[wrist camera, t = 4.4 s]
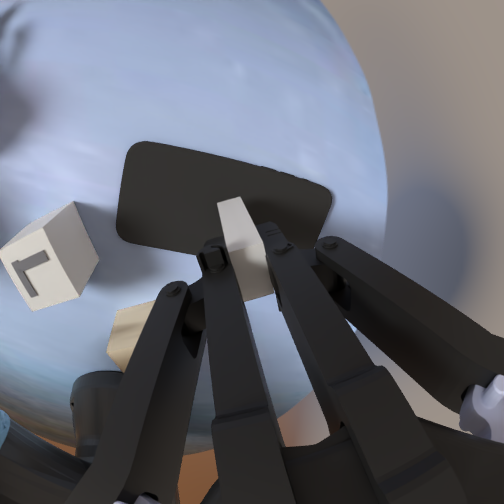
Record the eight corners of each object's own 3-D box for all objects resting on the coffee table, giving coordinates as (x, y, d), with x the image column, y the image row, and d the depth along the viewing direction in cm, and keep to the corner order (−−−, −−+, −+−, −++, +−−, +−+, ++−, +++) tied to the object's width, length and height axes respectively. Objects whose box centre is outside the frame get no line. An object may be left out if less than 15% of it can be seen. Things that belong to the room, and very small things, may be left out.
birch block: (189, 336, 24) (191, 380, 20) (142, 347, 24) (137, 390, 19) (168, 295, 22) (165, 340, 17) (117, 309, 21) (105, 353, 17)
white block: (99, 258, 19) (79, 298, 14) (55, 274, 18) (31, 312, 14) (73, 200, 16) (41, 228, 12) (29, 223, 16) (-4, 253, 12)
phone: (129, 137, 15) (337, 190, 19) (132, 136, 16) (332, 187, 20) (114, 240, 18) (302, 274, 22) (117, 236, 19) (299, 269, 23)
